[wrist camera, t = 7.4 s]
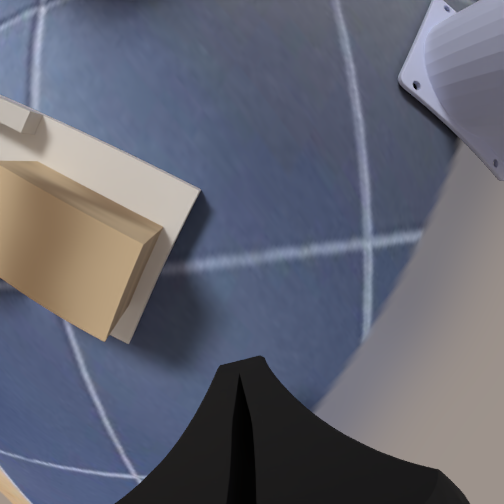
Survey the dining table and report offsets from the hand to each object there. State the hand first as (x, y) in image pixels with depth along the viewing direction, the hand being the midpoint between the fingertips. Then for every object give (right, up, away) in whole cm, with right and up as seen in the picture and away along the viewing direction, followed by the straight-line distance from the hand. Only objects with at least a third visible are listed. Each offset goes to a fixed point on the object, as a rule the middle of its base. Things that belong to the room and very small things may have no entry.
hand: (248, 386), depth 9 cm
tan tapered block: (-8, +5, +4) cm, 10 cm away
